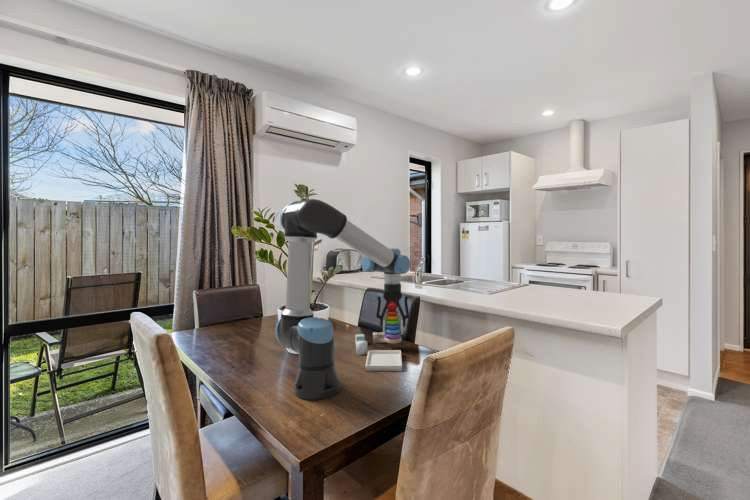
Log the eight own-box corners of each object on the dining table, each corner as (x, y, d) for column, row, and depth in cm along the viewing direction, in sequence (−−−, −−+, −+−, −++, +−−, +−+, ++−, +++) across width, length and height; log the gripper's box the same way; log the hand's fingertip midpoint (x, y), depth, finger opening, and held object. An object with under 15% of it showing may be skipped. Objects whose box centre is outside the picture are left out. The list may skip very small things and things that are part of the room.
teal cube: (356, 345, 167) (356, 336, 167) (355, 342, 171) (355, 334, 170) (365, 344, 168) (364, 336, 167) (363, 342, 171) (363, 333, 171)
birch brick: (373, 343, 170) (372, 334, 169) (373, 340, 174) (372, 332, 173) (385, 342, 170) (385, 334, 169) (385, 340, 174) (385, 332, 173)
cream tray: (365, 371, 135) (365, 365, 135) (368, 354, 153) (368, 350, 153) (402, 371, 134) (402, 365, 134) (400, 354, 152) (400, 350, 152)
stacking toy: (402, 339, 164) (401, 298, 163) (401, 344, 156) (401, 301, 155) (384, 338, 164) (384, 298, 164) (383, 343, 156) (383, 301, 156)
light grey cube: (355, 355, 153) (355, 344, 152) (356, 351, 158) (356, 340, 157) (367, 355, 152) (366, 343, 152) (367, 351, 157) (367, 340, 157)
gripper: (414, 281, 162) (414, 331, 163) (370, 281, 163) (370, 331, 164) (415, 283, 155) (416, 335, 156) (369, 284, 156) (369, 335, 157)
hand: (392, 333), depth 160 cm, fingers closed on stacking toy, 7 cm apart
